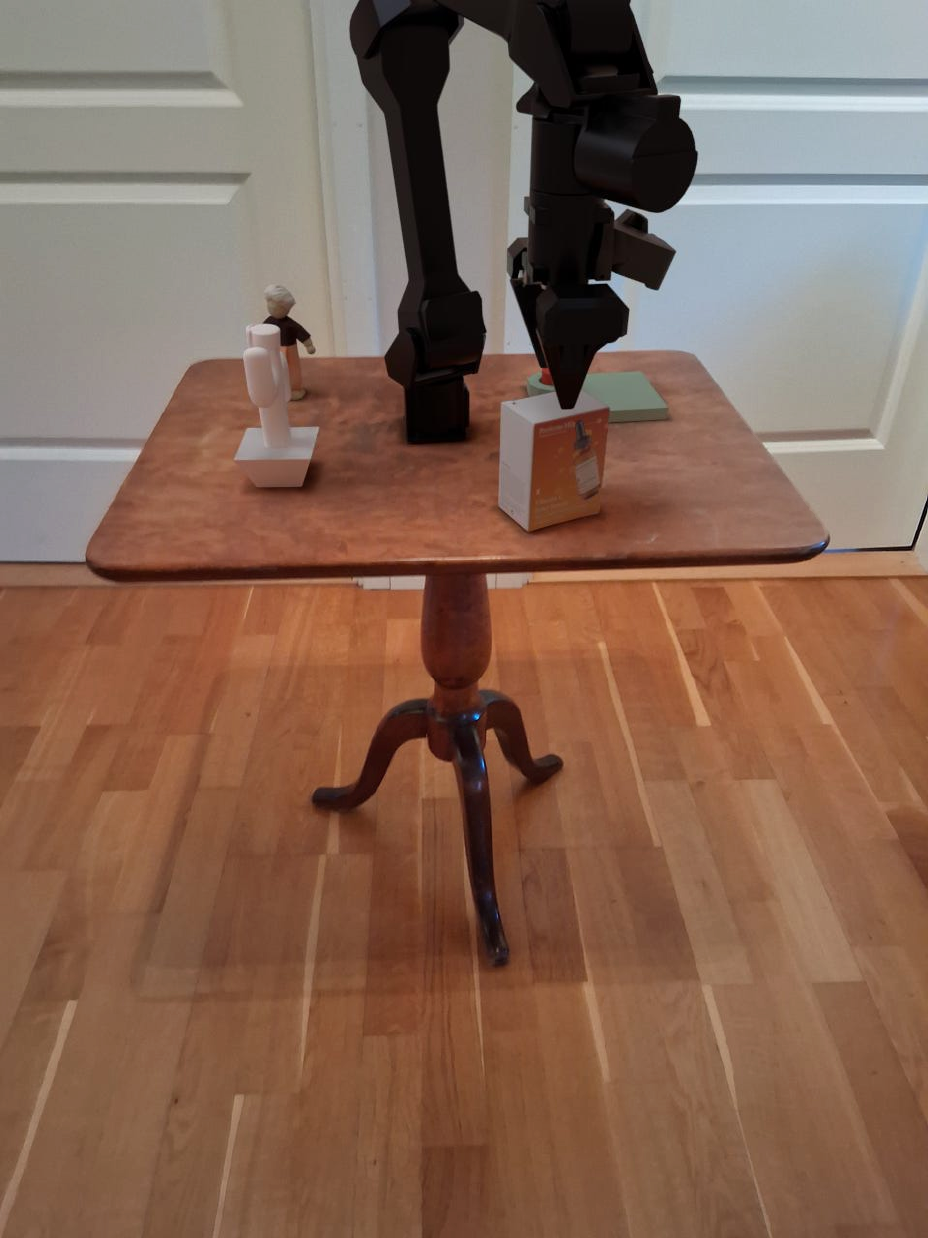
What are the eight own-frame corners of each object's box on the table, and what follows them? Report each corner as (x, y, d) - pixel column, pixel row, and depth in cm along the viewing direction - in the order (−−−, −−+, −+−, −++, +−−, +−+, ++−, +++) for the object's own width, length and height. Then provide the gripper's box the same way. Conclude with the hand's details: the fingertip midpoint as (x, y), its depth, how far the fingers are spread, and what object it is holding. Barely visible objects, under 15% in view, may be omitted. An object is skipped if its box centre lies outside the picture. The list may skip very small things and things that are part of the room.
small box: (527, 534, 80) (531, 424, 74) (496, 507, 84) (498, 400, 78) (601, 513, 83) (612, 405, 77) (568, 488, 87) (576, 384, 81)
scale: (536, 426, 98) (537, 400, 97) (520, 388, 107) (520, 363, 105) (667, 419, 100) (670, 393, 98) (640, 382, 108) (642, 357, 107)
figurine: (324, 455, 93) (308, 309, 84) (313, 499, 85) (295, 343, 76) (254, 456, 93) (231, 310, 84) (237, 500, 85) (210, 344, 76)
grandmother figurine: (254, 398, 105) (237, 287, 98) (266, 386, 108) (251, 278, 101) (315, 403, 104) (303, 292, 96) (327, 391, 107) (316, 282, 99)
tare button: (543, 388, 100) (544, 374, 99) (539, 379, 102) (540, 366, 101) (566, 387, 101) (567, 373, 100) (561, 378, 103) (562, 365, 102)
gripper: (713, 212, 60) (681, 427, 70) (638, 161, 75) (620, 345, 84) (551, 217, 59) (540, 435, 69) (507, 165, 74) (503, 350, 83)
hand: (556, 387), depth 76 cm, fingers open, 9 cm apart
